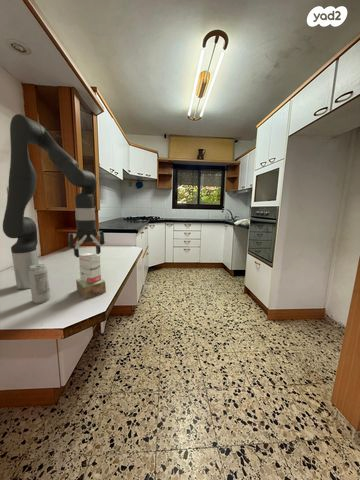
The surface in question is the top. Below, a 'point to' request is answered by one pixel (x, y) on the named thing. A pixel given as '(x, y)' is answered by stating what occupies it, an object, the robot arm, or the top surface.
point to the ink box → (90, 267)
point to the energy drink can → (39, 283)
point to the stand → (90, 288)
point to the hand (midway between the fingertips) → (88, 255)
